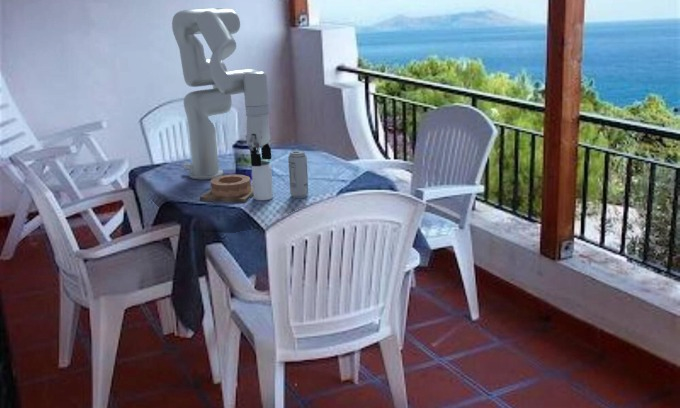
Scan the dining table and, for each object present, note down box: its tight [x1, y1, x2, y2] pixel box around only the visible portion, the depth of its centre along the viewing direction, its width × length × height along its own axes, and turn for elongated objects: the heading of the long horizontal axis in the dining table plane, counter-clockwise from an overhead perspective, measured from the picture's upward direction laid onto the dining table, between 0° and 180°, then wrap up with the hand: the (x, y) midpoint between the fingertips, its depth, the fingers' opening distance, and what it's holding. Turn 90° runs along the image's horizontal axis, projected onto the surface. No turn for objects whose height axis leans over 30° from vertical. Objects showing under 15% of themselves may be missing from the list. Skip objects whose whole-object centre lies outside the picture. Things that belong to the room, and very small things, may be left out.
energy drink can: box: [287, 150, 309, 199], centre depth 242 cm, size 6×6×15 cm
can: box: [251, 160, 274, 202], centre depth 241 cm, size 6×6×12 cm
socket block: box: [199, 174, 254, 203], centre depth 247 cm, size 16×16×5 cm
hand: (261, 162), depth 239 cm, fingers open, 9 cm apart
